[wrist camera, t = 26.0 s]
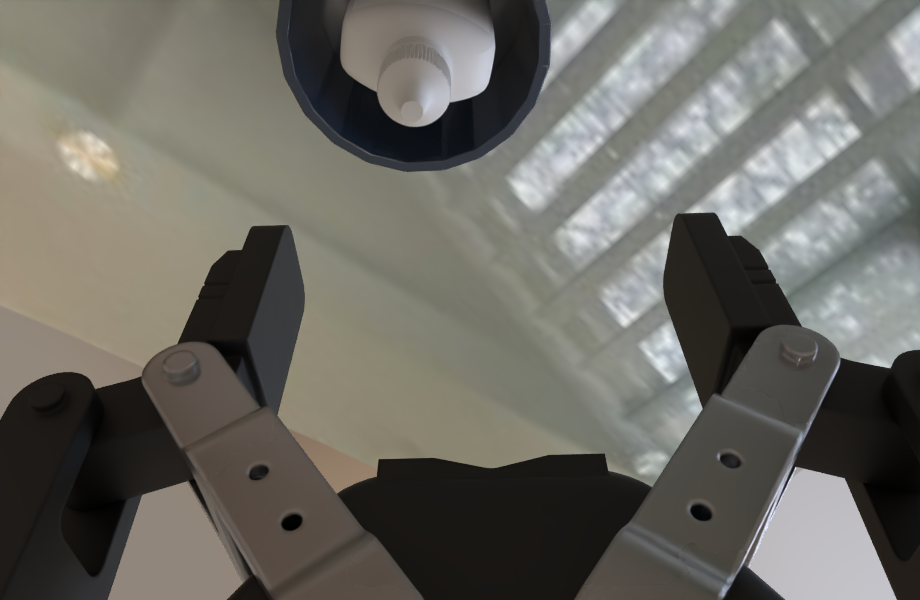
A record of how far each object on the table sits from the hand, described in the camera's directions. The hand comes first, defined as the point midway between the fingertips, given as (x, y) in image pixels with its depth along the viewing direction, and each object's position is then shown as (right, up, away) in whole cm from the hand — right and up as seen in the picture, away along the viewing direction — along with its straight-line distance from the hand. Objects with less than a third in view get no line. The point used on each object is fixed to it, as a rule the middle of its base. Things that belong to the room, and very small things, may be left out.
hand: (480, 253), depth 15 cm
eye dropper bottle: (-2, +12, +16) cm, 21 cm away
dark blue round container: (-2, +13, +17) cm, 21 cm away
